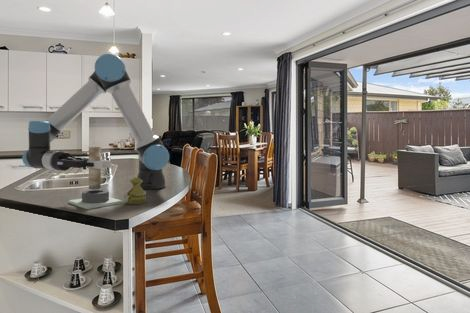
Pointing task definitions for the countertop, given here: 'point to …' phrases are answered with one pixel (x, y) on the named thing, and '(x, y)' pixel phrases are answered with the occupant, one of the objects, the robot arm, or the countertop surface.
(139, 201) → the olive twisted vase
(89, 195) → the socket
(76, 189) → the countertop surface
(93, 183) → the peg
